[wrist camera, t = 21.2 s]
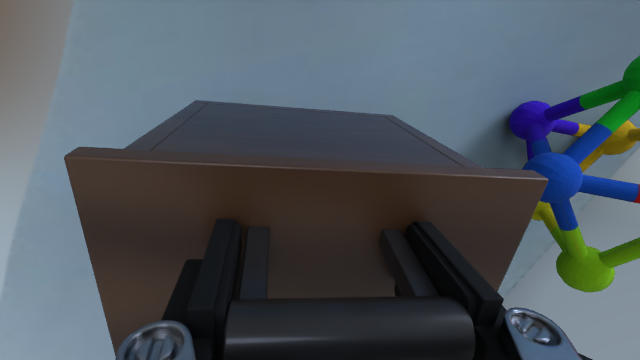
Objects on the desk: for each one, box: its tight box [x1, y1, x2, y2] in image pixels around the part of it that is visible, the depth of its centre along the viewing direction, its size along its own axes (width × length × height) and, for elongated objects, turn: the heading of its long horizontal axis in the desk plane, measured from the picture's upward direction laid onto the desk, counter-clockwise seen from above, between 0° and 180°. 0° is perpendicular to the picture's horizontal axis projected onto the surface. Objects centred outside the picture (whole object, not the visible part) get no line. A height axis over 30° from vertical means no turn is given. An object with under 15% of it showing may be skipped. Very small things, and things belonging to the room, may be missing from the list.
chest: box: [124, 100, 482, 168], centre depth 21 cm, size 16×15×14 cm
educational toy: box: [509, 56, 640, 292], centre depth 21 cm, size 16×13×15 cm
